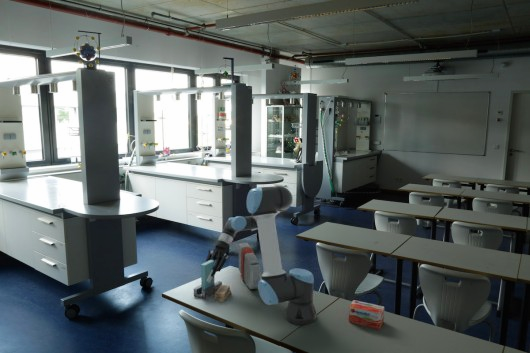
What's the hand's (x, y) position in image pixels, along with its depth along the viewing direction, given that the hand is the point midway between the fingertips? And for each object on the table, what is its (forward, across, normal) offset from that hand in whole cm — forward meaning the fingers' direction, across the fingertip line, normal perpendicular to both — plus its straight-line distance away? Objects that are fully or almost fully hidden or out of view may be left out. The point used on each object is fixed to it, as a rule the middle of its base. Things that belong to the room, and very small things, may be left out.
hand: (205, 281), depth 217 cm
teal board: (+4, 0, -6) cm, 7 cm away
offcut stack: (+4, -10, -6) cm, 13 cm away
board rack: (+4, 0, -6) cm, 7 cm away
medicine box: (-7, -83, -18) cm, 85 cm away
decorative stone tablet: (-11, -12, -22) cm, 28 cm away
